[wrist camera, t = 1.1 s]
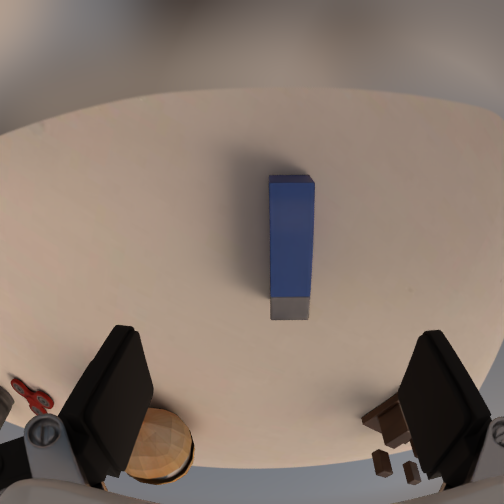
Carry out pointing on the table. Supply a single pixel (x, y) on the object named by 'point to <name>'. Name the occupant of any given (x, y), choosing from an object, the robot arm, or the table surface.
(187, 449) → the sculpture
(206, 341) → the table surface
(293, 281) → the blue eraser block
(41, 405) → the fidget spinner
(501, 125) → the table surface
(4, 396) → the beverage cup
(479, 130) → the table surface
